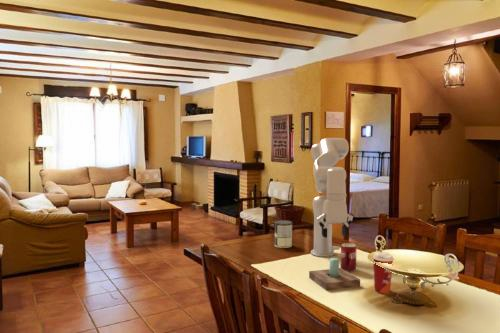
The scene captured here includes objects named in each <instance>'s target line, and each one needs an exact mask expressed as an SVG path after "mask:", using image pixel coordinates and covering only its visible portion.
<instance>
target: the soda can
mask: <svg viewBox="0 0 500 333" xmlns="http://www.w3.org/2000/svg"><path fill="white" fill-rule="evenodd" d="M357 249H358V246H357V245H356V244H354V243H351V242H350V243H348V242H347V243H346V242H345V243H342V244H341V245H340V268H342V269H343V270H345V271H347V272H349V273H351V272H355V271H357V253H358V252H357Z"/></svg>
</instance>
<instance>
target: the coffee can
mask: <svg viewBox="0 0 500 333" xmlns="http://www.w3.org/2000/svg"><path fill="white" fill-rule="evenodd" d="M292 246H293V221H291V220H287V219H286V220H283V219H282V220H281V219H279V220H275V221H274V247H276V248H278V249H279V248H280V249H285V248H286V249H287V248H292Z"/></svg>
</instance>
